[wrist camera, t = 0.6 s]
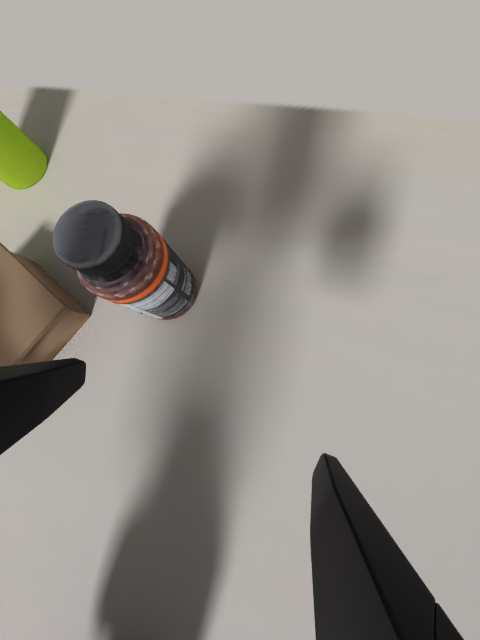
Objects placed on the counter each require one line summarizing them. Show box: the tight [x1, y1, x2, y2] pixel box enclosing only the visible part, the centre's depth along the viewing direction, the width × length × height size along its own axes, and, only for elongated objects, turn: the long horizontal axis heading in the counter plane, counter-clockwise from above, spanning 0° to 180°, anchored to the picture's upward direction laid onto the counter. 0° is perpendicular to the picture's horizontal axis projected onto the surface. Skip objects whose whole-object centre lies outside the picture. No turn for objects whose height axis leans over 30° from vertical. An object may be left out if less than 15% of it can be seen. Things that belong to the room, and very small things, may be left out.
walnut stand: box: [0, 243, 90, 366], centre depth 22 cm, size 11×11×4 cm
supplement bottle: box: [52, 200, 197, 320], centre depth 18 cm, size 6×6×11 cm
